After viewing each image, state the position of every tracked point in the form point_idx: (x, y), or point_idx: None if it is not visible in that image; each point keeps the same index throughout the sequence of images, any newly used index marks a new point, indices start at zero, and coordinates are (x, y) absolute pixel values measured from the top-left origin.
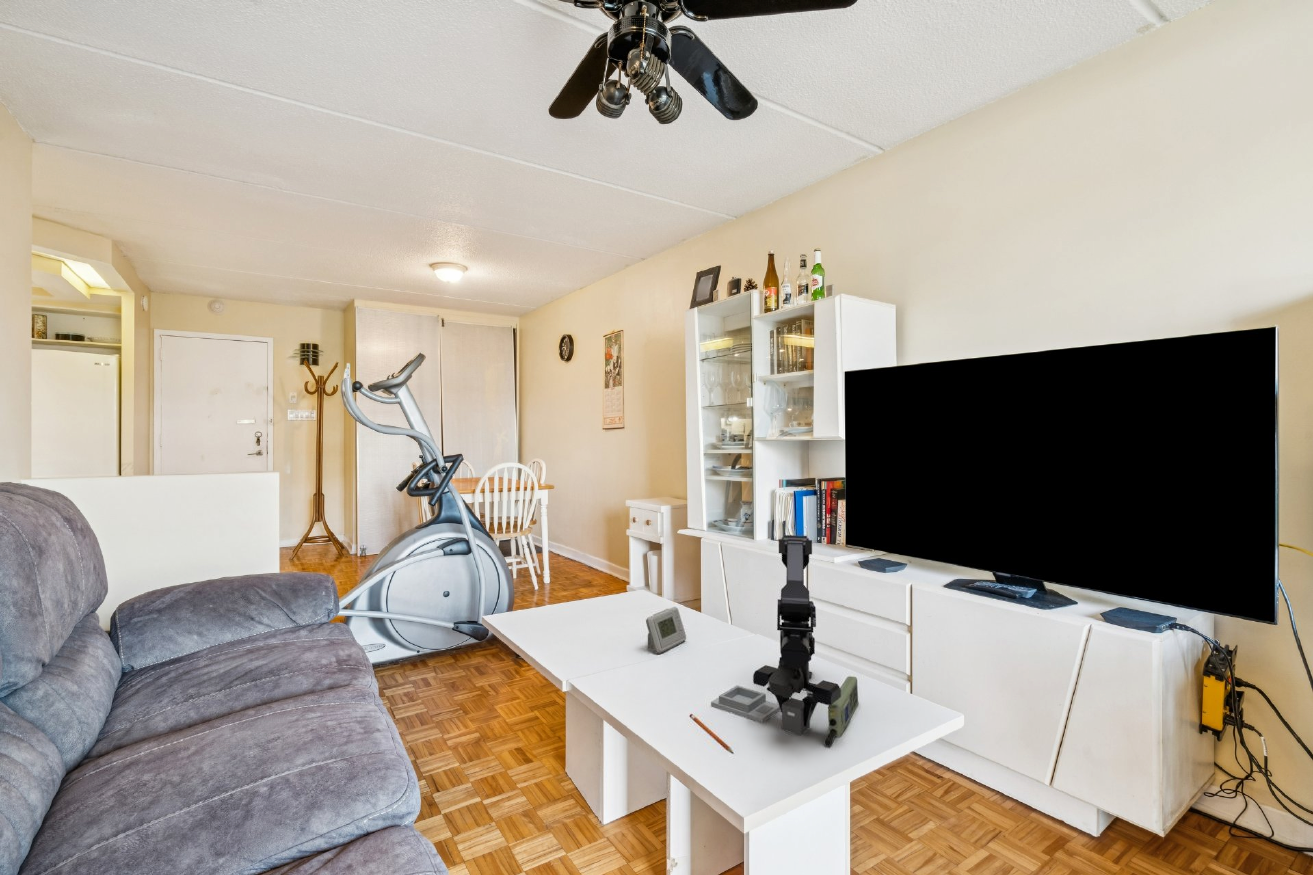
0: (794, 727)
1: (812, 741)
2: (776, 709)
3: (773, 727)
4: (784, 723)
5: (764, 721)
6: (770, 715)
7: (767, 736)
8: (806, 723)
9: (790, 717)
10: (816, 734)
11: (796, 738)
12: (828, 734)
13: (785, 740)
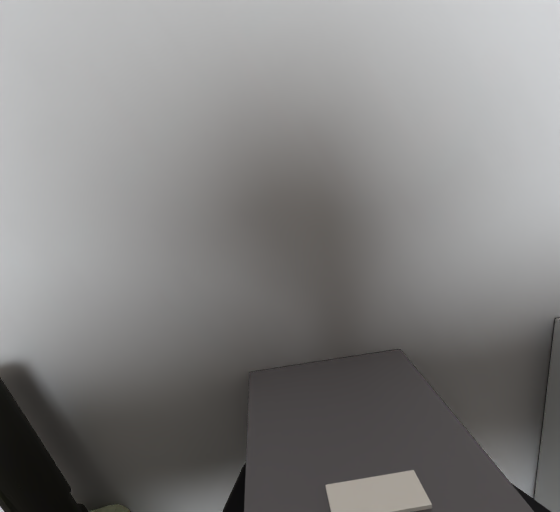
0: (306, 393)
1: (134, 361)
2: (556, 509)
3: (459, 325)
4: (400, 382)
5: (552, 346)
6: (554, 429)
7: (426, 174)
8: (233, 489)
9: (367, 452)
10: (183, 453)
11: (242, 314)
12: (38, 488)
13: (283, 227)
